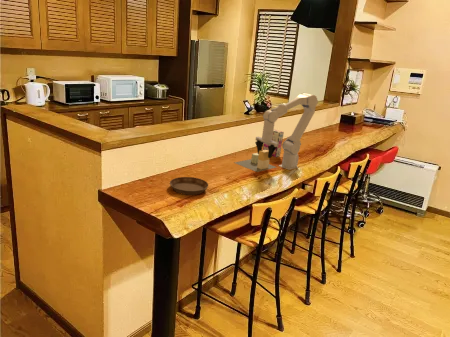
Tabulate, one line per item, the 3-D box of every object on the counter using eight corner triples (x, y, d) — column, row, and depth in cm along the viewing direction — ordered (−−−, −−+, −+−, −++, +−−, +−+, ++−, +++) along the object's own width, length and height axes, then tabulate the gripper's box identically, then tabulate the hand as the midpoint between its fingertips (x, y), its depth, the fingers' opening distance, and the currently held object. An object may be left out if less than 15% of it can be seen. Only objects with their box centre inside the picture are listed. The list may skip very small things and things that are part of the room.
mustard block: (264, 157, 213) (265, 149, 212) (269, 159, 211) (270, 151, 209) (257, 159, 209) (259, 150, 207) (262, 160, 207) (263, 152, 205)
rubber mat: (253, 159, 227) (253, 158, 227) (276, 167, 216) (277, 167, 215) (233, 163, 215) (233, 162, 215) (256, 172, 203) (257, 172, 203)
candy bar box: (280, 156, 240) (284, 131, 235) (275, 157, 236) (279, 132, 231) (266, 152, 247) (270, 128, 242) (262, 153, 243) (265, 128, 238)
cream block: (263, 166, 215) (264, 157, 213) (268, 167, 212) (269, 159, 211) (256, 167, 211) (258, 159, 209) (261, 169, 208) (262, 161, 207)
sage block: (257, 160, 224) (258, 152, 222) (261, 162, 222) (263, 154, 220) (250, 161, 220) (252, 153, 218) (255, 163, 218) (256, 155, 216)
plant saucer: (161, 188, 168) (161, 182, 167) (186, 179, 182) (186, 173, 181) (191, 200, 159) (191, 193, 158) (215, 190, 173) (216, 184, 172)
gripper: (253, 129, 207) (250, 153, 211) (273, 136, 197) (269, 160, 202) (261, 128, 212) (258, 151, 216) (281, 134, 202) (277, 158, 207)
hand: (264, 155), depth 209 cm, fingers open, 7 cm apart
